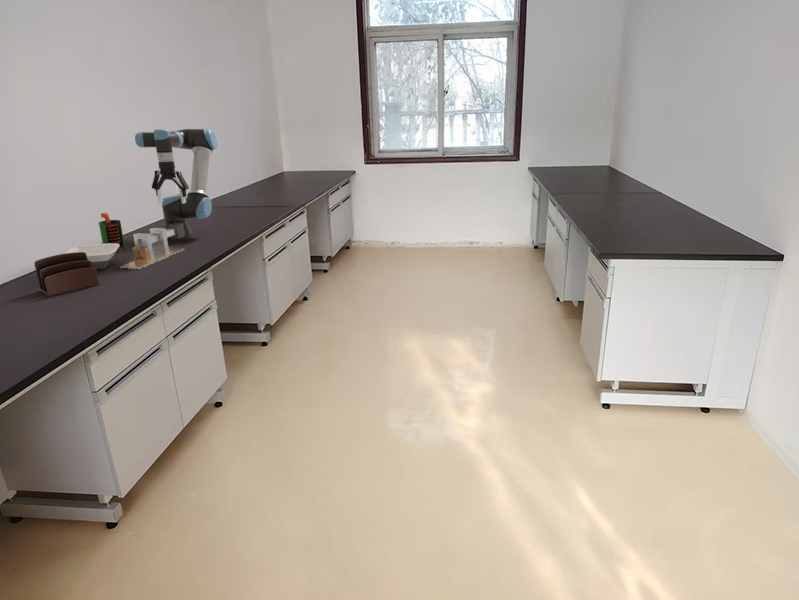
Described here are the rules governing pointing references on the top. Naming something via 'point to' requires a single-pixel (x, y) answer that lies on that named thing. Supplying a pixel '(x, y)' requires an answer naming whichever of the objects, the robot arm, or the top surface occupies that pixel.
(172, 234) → the shaft
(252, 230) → the top surface
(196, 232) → the top surface
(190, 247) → the top surface
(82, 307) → the top surface
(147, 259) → the spacer
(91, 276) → the letter holder
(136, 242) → the frame
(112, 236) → the motor
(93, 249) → the bowl
